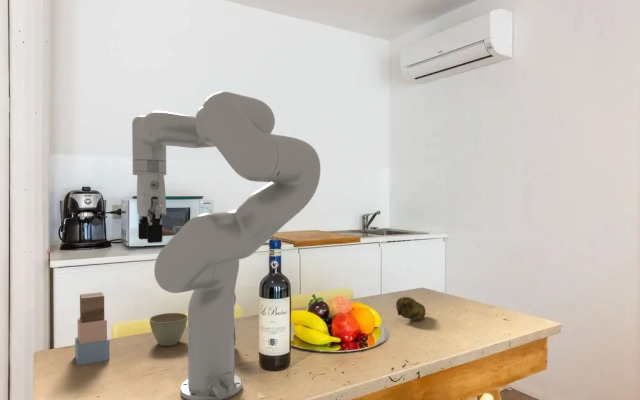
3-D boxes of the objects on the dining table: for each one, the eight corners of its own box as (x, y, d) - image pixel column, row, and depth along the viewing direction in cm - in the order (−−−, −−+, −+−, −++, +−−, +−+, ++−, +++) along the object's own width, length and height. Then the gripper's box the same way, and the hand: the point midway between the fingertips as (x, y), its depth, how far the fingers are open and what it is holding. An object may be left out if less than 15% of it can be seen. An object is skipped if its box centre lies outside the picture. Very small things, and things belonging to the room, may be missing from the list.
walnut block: (104, 319, 112) (104, 295, 112) (81, 322, 109) (81, 298, 109) (101, 315, 116) (101, 292, 116) (80, 318, 113) (79, 294, 113)
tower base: (109, 359, 112) (109, 340, 112) (77, 365, 108) (77, 345, 108) (105, 351, 118) (105, 332, 117) (75, 356, 114) (75, 337, 114)
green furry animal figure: (435, 320, 146) (435, 296, 146) (404, 326, 140) (405, 300, 140) (418, 314, 154) (418, 291, 154) (388, 319, 147) (388, 295, 147)
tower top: (107, 339, 112) (106, 320, 112) (79, 344, 108) (79, 323, 108) (103, 333, 117) (103, 314, 117) (77, 337, 113) (77, 318, 113)
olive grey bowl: (176, 350, 118) (176, 323, 118) (142, 347, 120) (141, 321, 120) (194, 338, 128) (194, 313, 128) (162, 336, 130) (162, 311, 130)
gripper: (175, 167, 101) (175, 243, 102) (157, 171, 116) (157, 237, 116) (140, 166, 97) (141, 245, 97) (126, 170, 112) (126, 238, 112)
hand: (150, 240), depth 107 cm, fingers open, 9 cm apart
